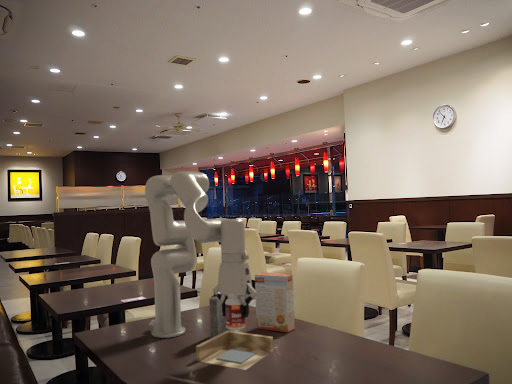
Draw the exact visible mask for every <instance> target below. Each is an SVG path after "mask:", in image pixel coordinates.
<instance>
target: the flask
mask: <svg viewBox="0 0 512 384" xmlns="http://www.w3.org/2000/svg"><path fill="white" fill-rule="evenodd" d="M213 290H214V288H212V291H213ZM208 303H209V328H210V329H209V331H210V334H209V335H210V336H209V337H210V339H211V338H213V337H215V336H217V335H219V334H221V333H223V332H225V331H227V330H228V331H230V329H227V328H226V316H223V312H222V303H220V300H219V299H218V297H217V295H216V294H215V293H214V292H213V295H211V296H210V297H209V302H208Z"/></svg>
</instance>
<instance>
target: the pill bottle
mask: <svg viewBox="0 0 512 384" xmlns="http://www.w3.org/2000/svg"><path fill="white" fill-rule="evenodd" d="M227 296H228V299H227V300H226V301H225V312H226V328H227V329H229V331H238V330H242V329H244V328H246V318H244V319H243V318H241V305H243V304H242V301H241V298H240V296H236V295H234V293H228V295H227Z"/></svg>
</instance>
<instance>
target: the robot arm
mask: <svg viewBox="0 0 512 384" xmlns="http://www.w3.org/2000/svg"><path fill="white" fill-rule="evenodd" d="M209 180H210V179H209V178H208V176H207V175H206V174H205V173H203V172H200V171H185V170H184V171H183V170H182V171H177V172H175V173H174V174H172V175H170V174H169V175H168V174H160V175H159V174H158V175H154V176H151V177H149V178H148V179H147V181H146V183H145V187H144V196H145V200H146V203H147V207H148V210H149V215H150V223H151V224H150V225H151V233H152V240H153V243H154V244H155V245H156V246H158V247H169V246H177V248H168V249H167V248H166V249H162V250H161V249H160V250H158V251H156V252H155V253H153V254H152V256H151V259H150V266H151V269H152V276H153V285H154V286H153V287H154V289H153V290H154V313H155V314H154V317H155V318H154V319H151V320H150V322H149V323H148V326H149V327H153V329H152V330H151V331H150V332H151V336H152V337H154V338H158V339H160V338H161V339H165V338H166V339H168V338H169V339H170V338H175V337H179V336H182V335H183V334H184V333H186V327H184V326H182V318H181V317H182V315H181V314H182V311H181V310H182V309H181V308H182V307H181V306H182V305H181V285H180V282H179V281H178V279H177V278H176V276H175V275H176V274H181V273H186V272H191V271H193V270H194V269H195V267H196V265H197V256H196V247H195V241H197V242H198V243H201V244H206V243H216V242H220V249H221V251H220V252H221V253H220V254H221V255H220V256H221V257H220V258H221V262H220V264H219V268H218V279H217V281H218V283H217V285H216V286H215V287H214V288H213V289H214V290H213V289H212V291H213V294H214V293H215V294H216V295H217V297H218V299H219V300H220V303H222V312H223V316H226V312H225V301H226V300H227V299H228V296H227V295H228V293H234V295H236V296H240V298H241V301H242V304H243V305H241V318H243V319H244V318H245V319H246V318H248V317H249V314H250V306H249V305H250V304H251V302H252V301H253V300H254V298H256V295H257V292H256V290H255V288H254V287H253V283H252V275H251V273H252V272H251V270H250V265H249V262H247V260H249V255H247V254H246V240H245V239H246V235H245V234H246V233H245V222H244V220H242V219H241V218H225V217H224V218H223V217H222V218H206V219H205V218H202V217H201V216H200V214H199V213H200V212H202V211H203V210H204V209H205V208H206V207H207V206H208V203H209V196H208V195H207V192H208V190H209V188H210V181H209ZM165 198H178V199H179V201H180V202H181V203H182V205H183V206H184V207H185V208H184V212H183V220H174V213H173V212H174V211H173V208H172V206H171V204H170V202H168V201H167V199H165Z"/></svg>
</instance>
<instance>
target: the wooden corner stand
mask: <svg viewBox="0 0 512 384" xmlns="http://www.w3.org/2000/svg"><path fill="white" fill-rule="evenodd" d="M231 349H236V350H242V351H248V352H254V353H256V355H254V356H253V357H251V358H250V359H248V360H247V361H245V362H244V363H242V364H239V363H234V362H228V361H223V360H217V359H216V358H217V357H219V356H221V355H222V354H224V353H226V352H228V351H229V350H231ZM273 352H274V337H273V336H269V335H263V334H256V333H248V332H242V331H241V332H240V331H236V330H229V331H228V330H227V331H225V332H223V333H221V334H219V335H217V336H215V337H213V338H211V337H210V338H209V339H207V340H206V341H203V342H201V343H200V344H197V345H196V346H195V358H196V359H195V360H196V362H199V363H206V364H211V365H216V366H222V367H227V368H232V369H237V370H242V371H243V370H244V371H247V370H248V369H250V368H251V367H252V366H254V365H255V364H257V363H258V362H260V361H261V360H262V359H263V358H265V357H267V356H268V355H270V354H271V353H273Z"/></svg>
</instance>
